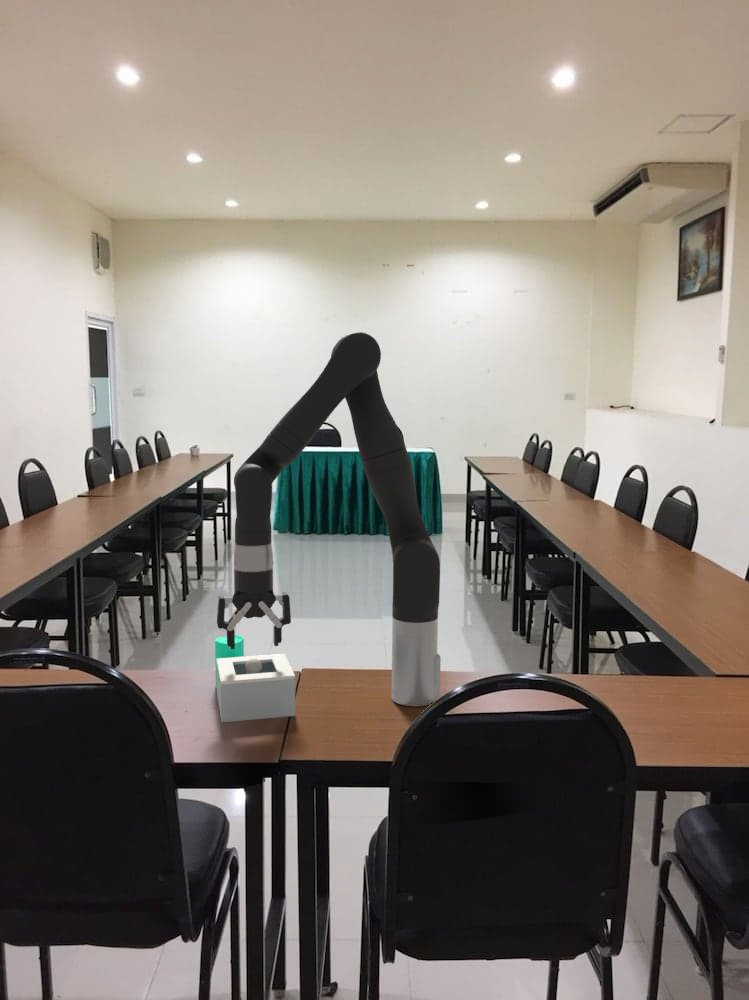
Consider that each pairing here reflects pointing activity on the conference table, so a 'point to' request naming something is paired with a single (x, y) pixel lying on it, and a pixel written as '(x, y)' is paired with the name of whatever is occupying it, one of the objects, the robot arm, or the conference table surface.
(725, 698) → the conference table surface
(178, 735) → the conference table surface
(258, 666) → the chess piece
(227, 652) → the candle
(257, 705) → the tissue box
